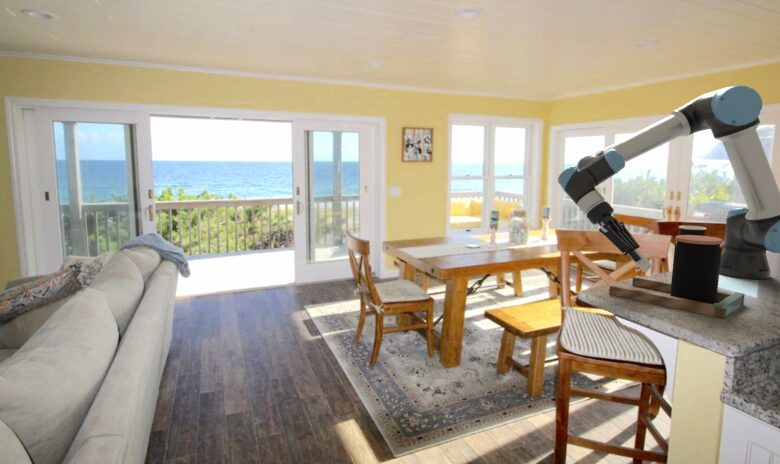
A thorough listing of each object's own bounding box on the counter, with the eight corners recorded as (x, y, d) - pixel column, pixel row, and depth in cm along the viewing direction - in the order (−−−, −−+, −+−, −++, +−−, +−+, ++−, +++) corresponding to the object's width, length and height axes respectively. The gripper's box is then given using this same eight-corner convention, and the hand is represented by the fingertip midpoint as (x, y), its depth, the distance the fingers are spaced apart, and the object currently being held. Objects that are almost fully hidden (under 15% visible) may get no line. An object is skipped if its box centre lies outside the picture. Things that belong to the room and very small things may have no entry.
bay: (609, 294, 132) (609, 284, 132) (634, 283, 144) (635, 274, 143) (723, 318, 111) (724, 306, 110) (743, 304, 122) (744, 293, 122)
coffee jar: (725, 308, 119) (732, 241, 116) (682, 307, 120) (689, 240, 117) (701, 296, 129) (707, 235, 127) (662, 296, 130) (667, 234, 128)
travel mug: (680, 277, 151) (685, 224, 149) (706, 283, 145) (712, 227, 142) (667, 280, 147) (672, 226, 145) (694, 286, 141) (700, 229, 138)
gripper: (596, 214, 148) (646, 273, 138) (576, 217, 140) (628, 279, 130) (614, 199, 143) (667, 258, 133) (595, 201, 135) (650, 265, 125)
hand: (648, 269), depth 132 cm, fingers closed
